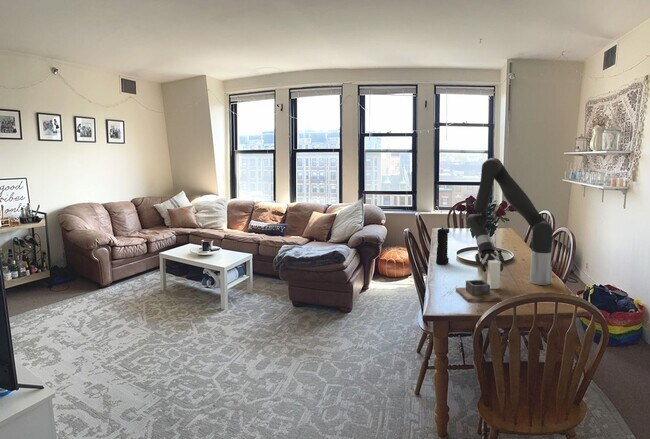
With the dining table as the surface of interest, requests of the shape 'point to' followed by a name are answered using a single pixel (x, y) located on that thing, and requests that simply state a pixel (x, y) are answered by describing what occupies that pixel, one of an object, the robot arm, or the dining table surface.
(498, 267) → the plug block
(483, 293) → the square socket base
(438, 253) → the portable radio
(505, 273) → the dining table surface
